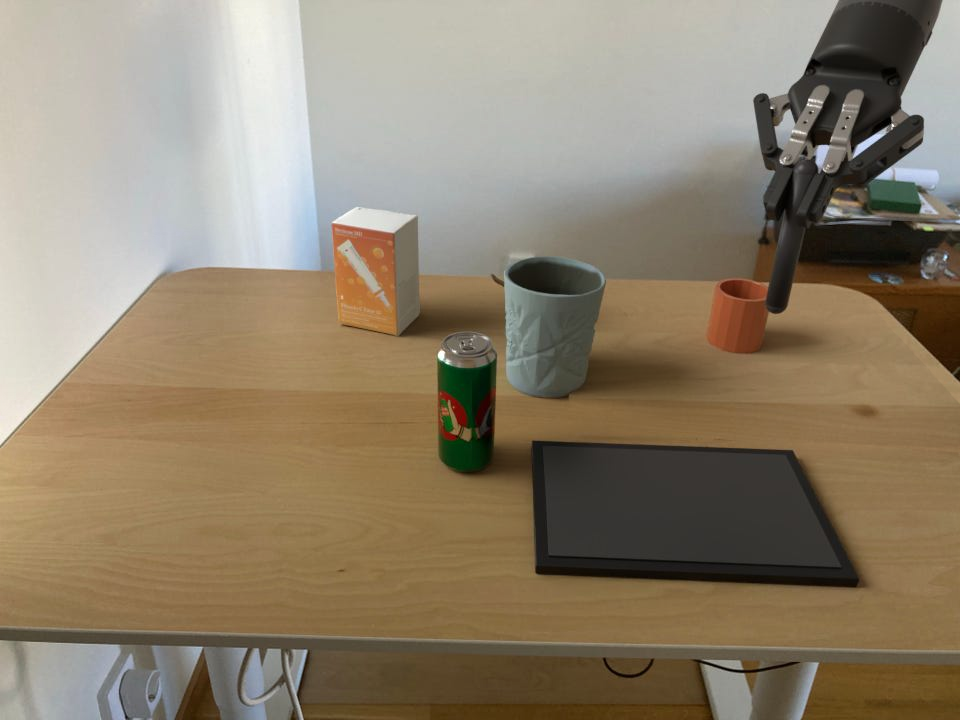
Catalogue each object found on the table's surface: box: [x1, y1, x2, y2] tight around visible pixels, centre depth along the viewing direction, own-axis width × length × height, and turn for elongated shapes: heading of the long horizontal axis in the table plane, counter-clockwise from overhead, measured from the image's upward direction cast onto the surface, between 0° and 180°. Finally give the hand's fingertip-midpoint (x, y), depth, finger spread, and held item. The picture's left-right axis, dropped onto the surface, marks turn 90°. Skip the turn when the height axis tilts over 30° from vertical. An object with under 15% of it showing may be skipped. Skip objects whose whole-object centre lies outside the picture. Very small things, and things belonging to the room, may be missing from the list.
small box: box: [331, 206, 421, 337], centre depth 91 cm, size 8×6×13 cm
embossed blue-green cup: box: [503, 255, 607, 399], centre depth 81 cm, size 10×10×12 cm
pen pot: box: [705, 277, 770, 354], centre depth 89 cm, size 6×6×7 cm
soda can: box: [436, 331, 498, 473], centre depth 68 cm, size 5×5×12 cm
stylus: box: [765, 159, 819, 315], centre depth 62 cm, size 2×2×13 cm
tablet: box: [530, 439, 860, 588], centre depth 65 cm, size 24×16×1 cm, turn 88°
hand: (787, 218), depth 60 cm, fingers closed on stylus, 2 cm apart
